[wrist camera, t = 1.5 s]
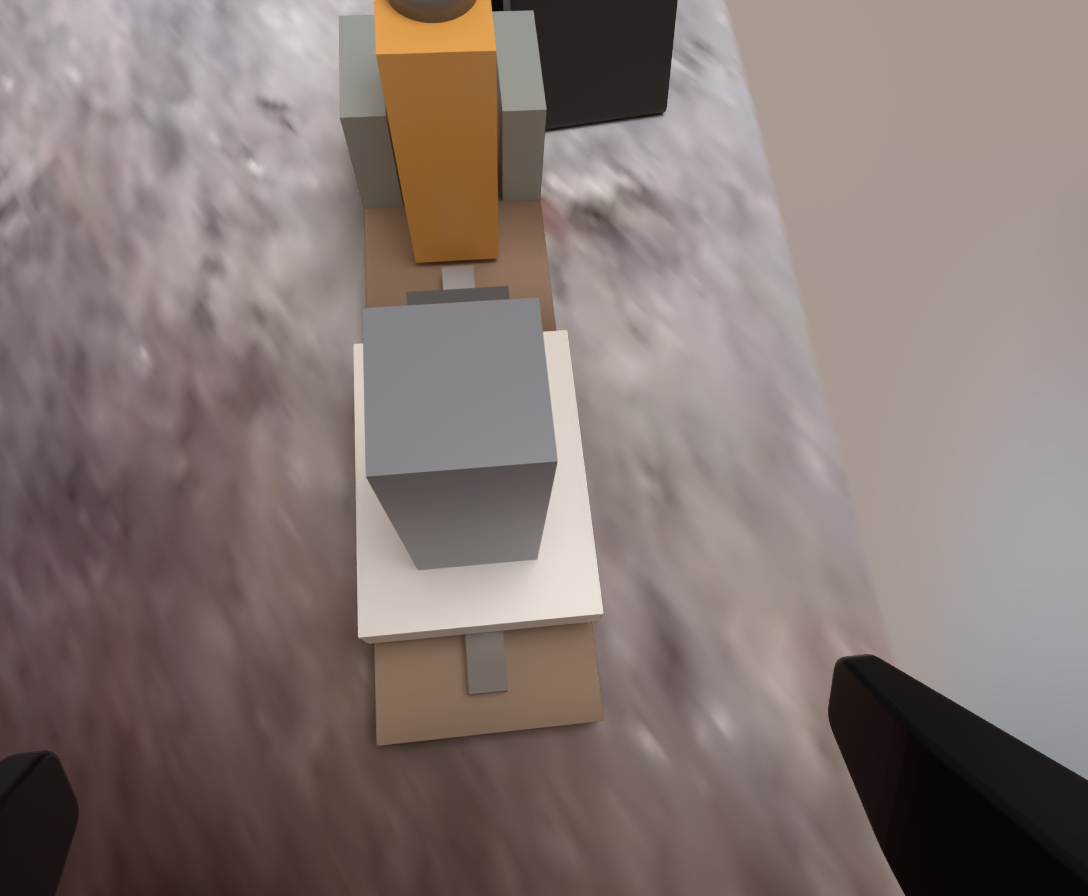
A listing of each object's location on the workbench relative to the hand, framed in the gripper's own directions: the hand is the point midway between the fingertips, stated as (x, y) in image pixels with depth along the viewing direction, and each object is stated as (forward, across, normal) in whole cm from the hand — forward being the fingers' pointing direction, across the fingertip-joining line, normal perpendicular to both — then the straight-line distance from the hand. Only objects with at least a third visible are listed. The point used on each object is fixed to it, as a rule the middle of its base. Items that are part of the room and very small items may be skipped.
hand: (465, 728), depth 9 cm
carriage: (+12, 0, +3) cm, 12 cm away
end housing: (+22, 0, -5) cm, 22 cm away
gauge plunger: (+20, 0, -4) cm, 20 cm away
